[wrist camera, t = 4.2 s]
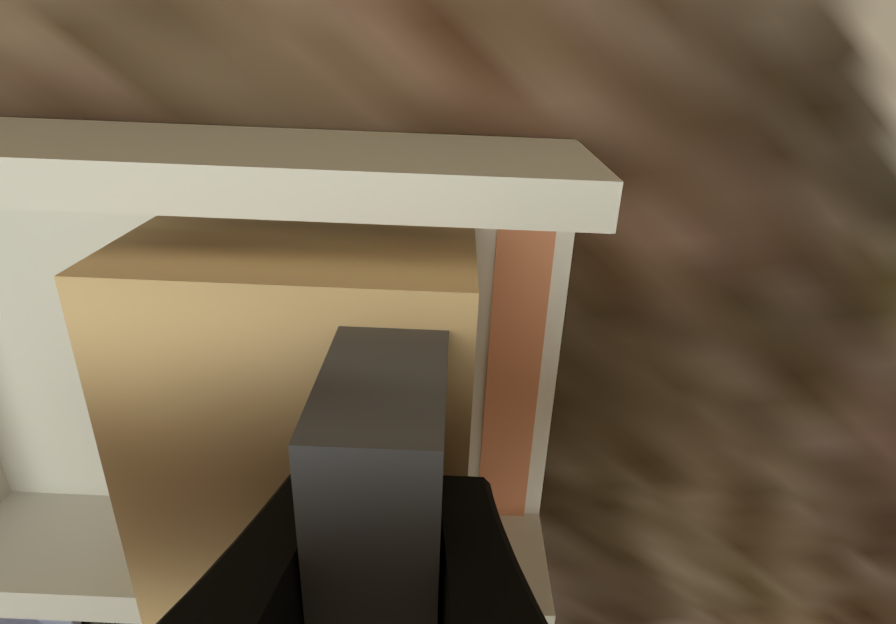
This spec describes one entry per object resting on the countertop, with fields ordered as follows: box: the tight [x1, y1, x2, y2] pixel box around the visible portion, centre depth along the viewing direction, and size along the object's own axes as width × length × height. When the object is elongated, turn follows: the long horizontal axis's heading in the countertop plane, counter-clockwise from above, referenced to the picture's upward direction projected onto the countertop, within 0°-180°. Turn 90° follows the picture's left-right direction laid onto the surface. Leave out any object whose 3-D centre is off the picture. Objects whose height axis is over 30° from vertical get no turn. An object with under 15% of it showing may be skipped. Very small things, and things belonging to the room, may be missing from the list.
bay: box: [0, 117, 623, 624], centre depth 13 cm, size 10×14×4 cm
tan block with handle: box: [54, 216, 479, 624], centre depth 11 cm, size 7×6×7 cm
